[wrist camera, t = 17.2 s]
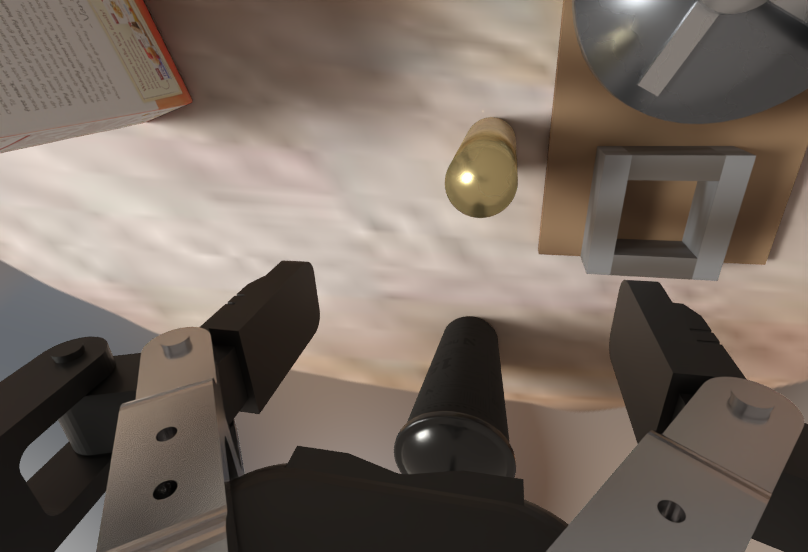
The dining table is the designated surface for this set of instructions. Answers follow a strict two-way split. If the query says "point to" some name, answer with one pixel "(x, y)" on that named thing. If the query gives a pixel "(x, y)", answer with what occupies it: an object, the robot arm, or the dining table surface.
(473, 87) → the dining table surface
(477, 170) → the gold metallic cylinder
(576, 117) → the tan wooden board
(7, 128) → the cracker box
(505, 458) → the dark tapered cylinder
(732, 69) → the handwheel
